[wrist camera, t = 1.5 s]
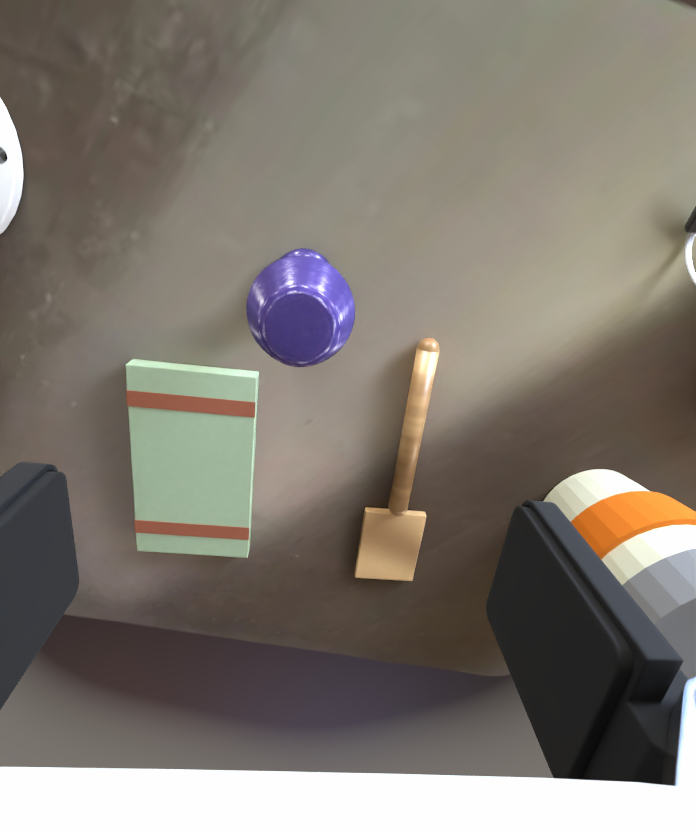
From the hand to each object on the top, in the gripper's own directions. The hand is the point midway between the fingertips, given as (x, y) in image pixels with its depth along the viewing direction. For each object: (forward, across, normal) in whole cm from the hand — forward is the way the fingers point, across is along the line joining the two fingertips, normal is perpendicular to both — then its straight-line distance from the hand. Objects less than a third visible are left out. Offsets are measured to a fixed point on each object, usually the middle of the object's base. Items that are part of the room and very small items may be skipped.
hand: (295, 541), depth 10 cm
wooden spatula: (+25, -8, +12) cm, 29 cm away
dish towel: (+25, +8, +12) cm, 29 cm away
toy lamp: (+26, +1, -2) cm, 26 cm away
